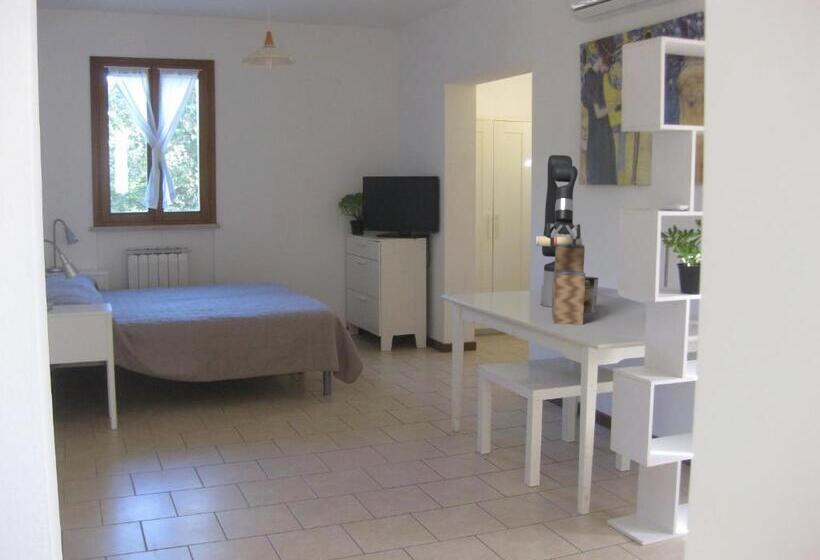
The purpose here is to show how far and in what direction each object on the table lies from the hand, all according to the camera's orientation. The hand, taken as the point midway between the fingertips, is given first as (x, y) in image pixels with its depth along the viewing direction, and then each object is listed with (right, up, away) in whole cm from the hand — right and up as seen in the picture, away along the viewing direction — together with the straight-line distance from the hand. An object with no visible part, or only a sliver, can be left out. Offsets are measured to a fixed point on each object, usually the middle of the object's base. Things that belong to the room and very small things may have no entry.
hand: (562, 248), depth 372 cm
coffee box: (+19, -28, +48) cm, 59 cm away
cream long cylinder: (+2, +1, +20) cm, 20 cm away
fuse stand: (+5, -31, +19) cm, 37 cm away
